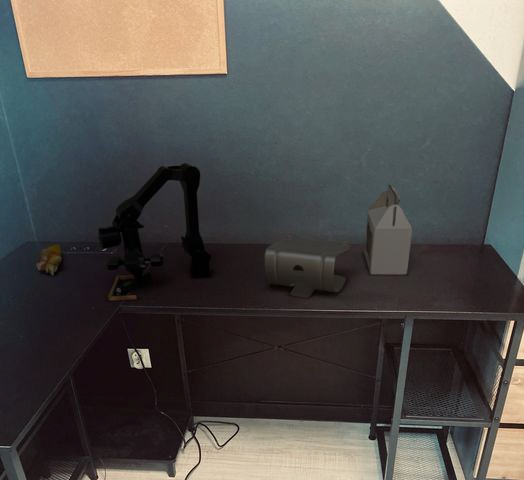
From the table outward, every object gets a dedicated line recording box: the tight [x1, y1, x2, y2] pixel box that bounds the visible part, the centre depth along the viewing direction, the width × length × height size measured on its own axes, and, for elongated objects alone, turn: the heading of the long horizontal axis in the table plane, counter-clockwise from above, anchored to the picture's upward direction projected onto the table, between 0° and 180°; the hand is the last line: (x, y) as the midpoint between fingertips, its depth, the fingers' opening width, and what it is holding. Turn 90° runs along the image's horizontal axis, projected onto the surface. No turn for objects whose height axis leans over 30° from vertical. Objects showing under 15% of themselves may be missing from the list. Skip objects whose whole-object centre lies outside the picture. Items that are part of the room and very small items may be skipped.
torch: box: [35, 243, 63, 276], centre depth 208 cm, size 8×8×25 cm
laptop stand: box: [264, 234, 352, 298], centre depth 184 cm, size 26×24×16 cm
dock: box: [107, 274, 138, 301], centre depth 188 cm, size 10×19×2 cm, turn 4°
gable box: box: [363, 184, 413, 276], centre depth 196 cm, size 22×13×28 cm, turn 176°
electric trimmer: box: [114, 272, 153, 296], centre depth 189 cm, size 4×16×3 cm, turn 143°
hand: (140, 284), depth 189 cm, fingers closed
